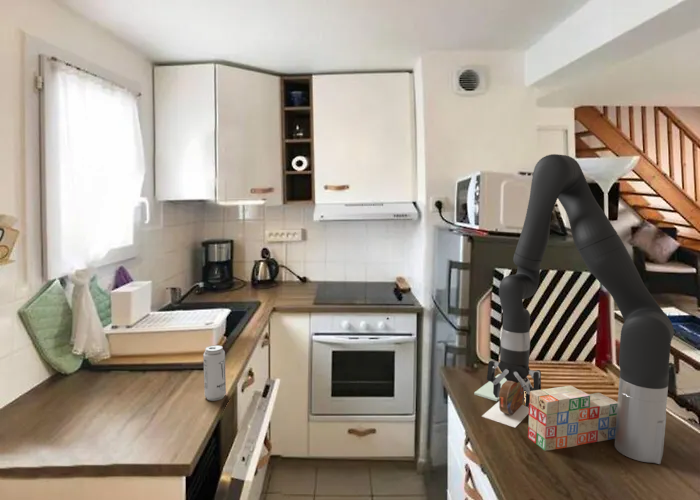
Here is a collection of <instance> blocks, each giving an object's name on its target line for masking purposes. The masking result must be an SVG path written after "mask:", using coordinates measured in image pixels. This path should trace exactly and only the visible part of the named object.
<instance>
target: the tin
mask: <svg viewBox="0 0 700 500" xmlns="http://www.w3.org/2000/svg"><path fill="white" fill-rule="evenodd" d="M524 391H525V389H524V388H523V387H522V386H521V384H520V383H519V382H518V383H516V382H513V381H508V380H507V381H506V382H505V383H504V384H503V385H502V386H501V389H500V392H499V400H498V402H499V408H500V411H501V412H503V413H506V414H509V415H513V414H514V413H515V412H516V411H517V410H518V409H519V408H520V406H521V405H522V404H523V403H524V400H525V398H524Z"/></svg>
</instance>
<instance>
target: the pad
mask: <svg viewBox="0 0 700 500" xmlns="http://www.w3.org/2000/svg"><path fill="white" fill-rule="evenodd" d="M500 374H501V373H498V374H497V375H496V376H495V377H496V378H497V377H498V376H499V375H500ZM506 381H507V379H506V378H503V379H502V380H501V381H500V384H501V386H502V385H503V384H504V383H505V382H506ZM493 387H494V384H493V383H492V382H491V381H488V382H486V383H485V384H483V385H482V386H481V387H480V388H478V389H476V391H474V396H479V397H480V398H484V399H488V400H491V401H494V402H499V397H498V398H496V397H495V395H494V394H493Z"/></svg>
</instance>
